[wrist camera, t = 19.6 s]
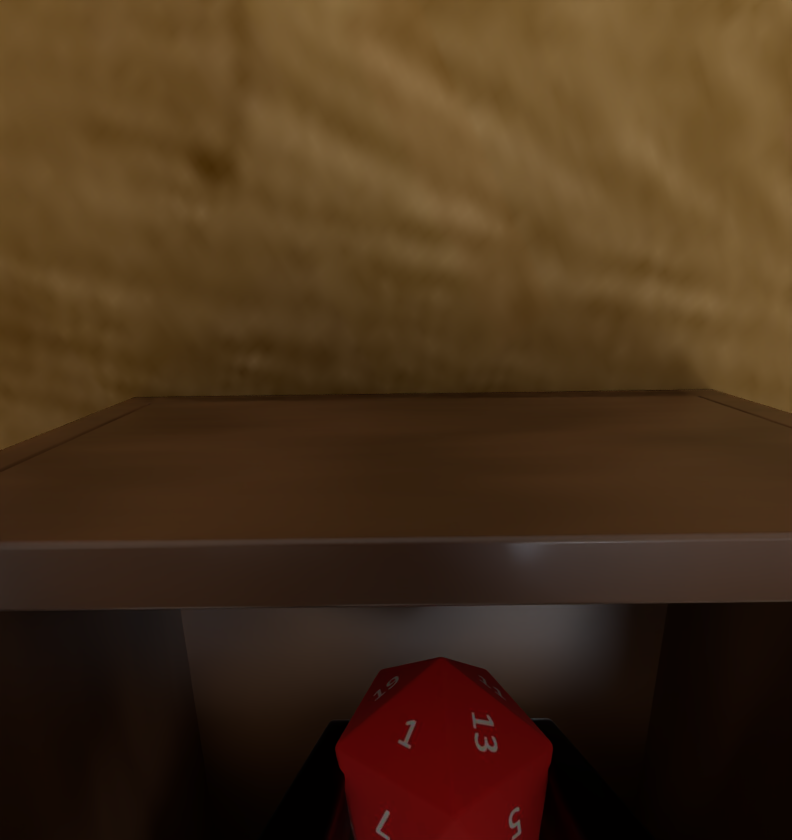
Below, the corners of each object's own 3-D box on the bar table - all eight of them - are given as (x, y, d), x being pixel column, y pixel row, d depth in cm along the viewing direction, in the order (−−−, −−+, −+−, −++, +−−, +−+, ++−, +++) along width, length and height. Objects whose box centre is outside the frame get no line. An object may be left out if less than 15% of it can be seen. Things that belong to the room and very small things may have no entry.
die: (528, 609, 8) (407, 897, 5) (610, 750, 9) (545, 1071, 6) (381, 602, 10) (245, 794, 8) (455, 713, 11) (357, 924, 8)
